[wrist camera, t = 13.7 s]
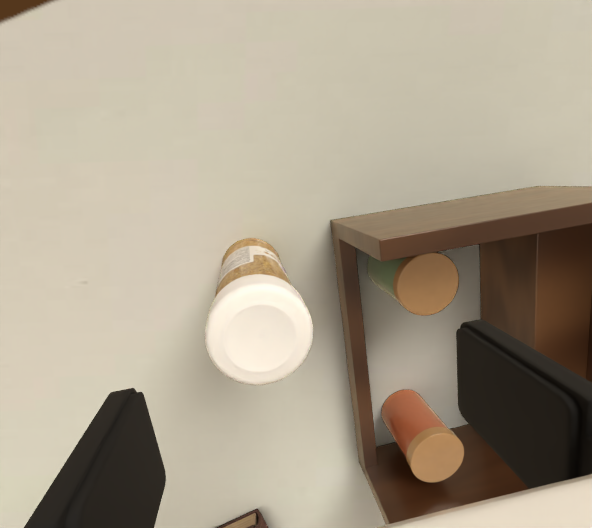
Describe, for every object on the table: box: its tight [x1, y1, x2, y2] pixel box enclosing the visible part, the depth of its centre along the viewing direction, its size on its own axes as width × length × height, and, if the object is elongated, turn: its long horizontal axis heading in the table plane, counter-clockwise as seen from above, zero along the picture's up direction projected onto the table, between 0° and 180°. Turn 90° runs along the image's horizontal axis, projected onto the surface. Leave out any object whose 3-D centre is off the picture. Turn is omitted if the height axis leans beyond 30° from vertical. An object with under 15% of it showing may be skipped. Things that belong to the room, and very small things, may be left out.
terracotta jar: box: [381, 390, 464, 483], centre depth 30 cm, size 4×4×6 cm
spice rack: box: [330, 186, 592, 525], centre depth 26 cm, size 23×18×12 cm
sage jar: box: [367, 252, 459, 315], centre depth 26 cm, size 4×4×6 cm
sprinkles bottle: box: [205, 238, 313, 385], centre depth 21 cm, size 5×5×13 cm
